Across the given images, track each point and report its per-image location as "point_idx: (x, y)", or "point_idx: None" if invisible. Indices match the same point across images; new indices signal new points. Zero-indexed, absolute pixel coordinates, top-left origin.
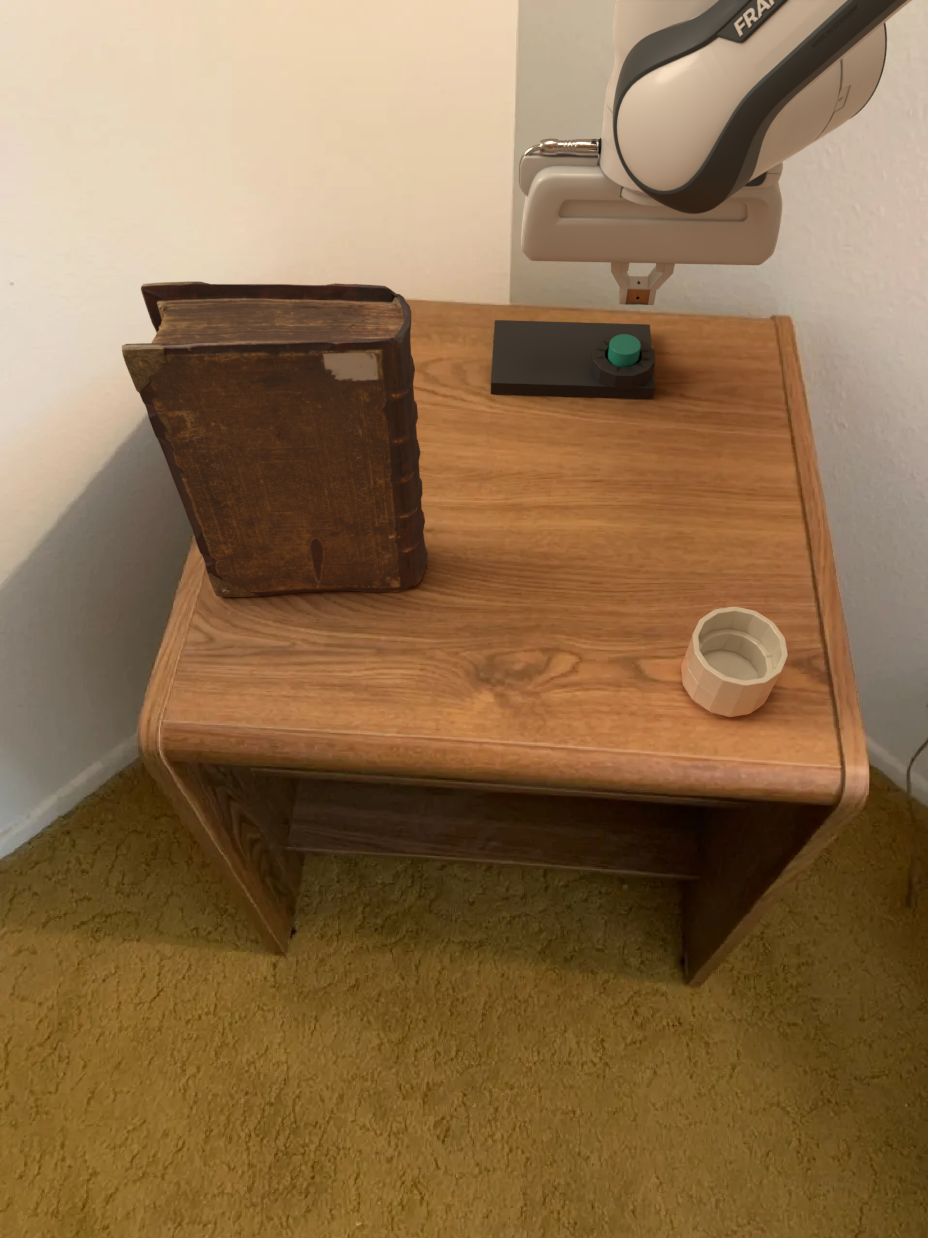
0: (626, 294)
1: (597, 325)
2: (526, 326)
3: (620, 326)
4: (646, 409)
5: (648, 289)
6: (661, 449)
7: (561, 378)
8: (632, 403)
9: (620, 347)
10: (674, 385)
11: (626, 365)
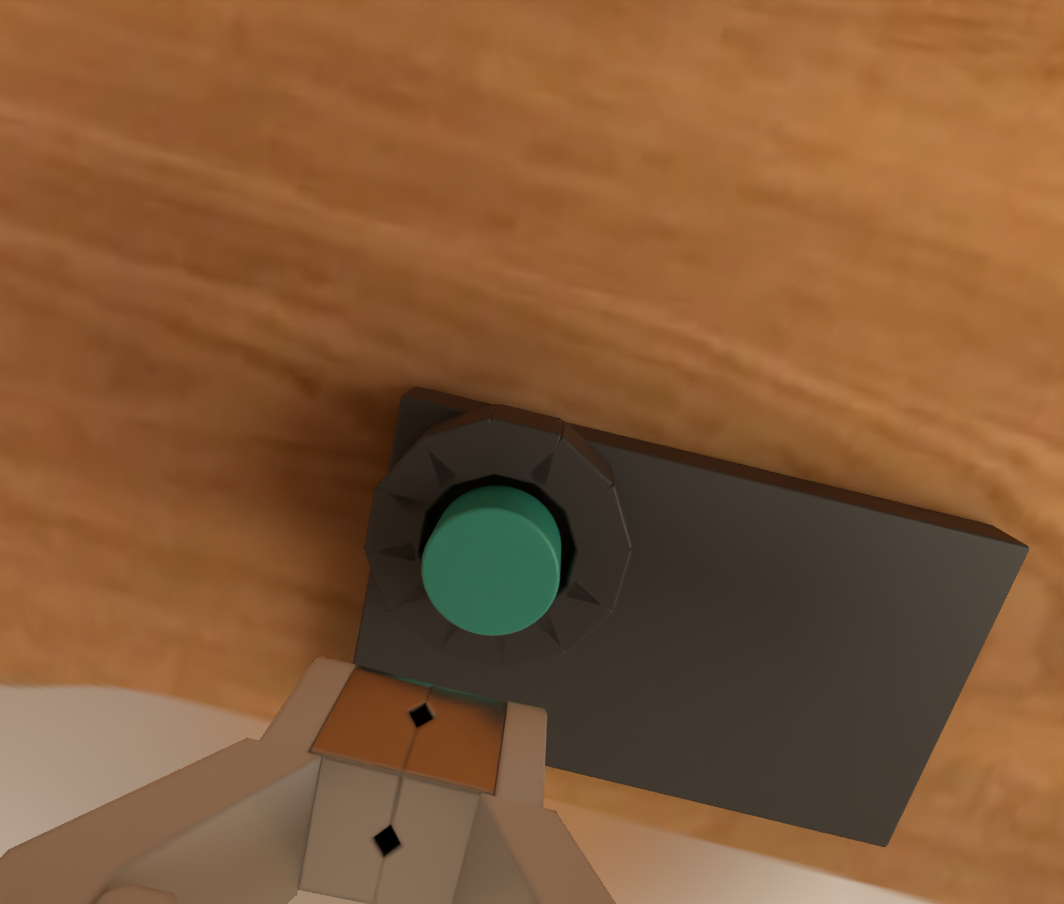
0: (504, 755)
1: None
2: (785, 794)
3: None
4: (451, 339)
5: (326, 753)
6: (449, 110)
7: (748, 514)
8: (493, 380)
9: (517, 556)
10: (322, 440)
11: (500, 488)
